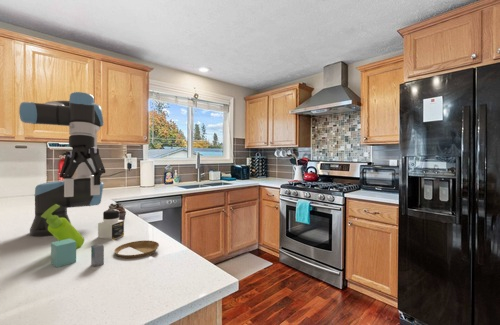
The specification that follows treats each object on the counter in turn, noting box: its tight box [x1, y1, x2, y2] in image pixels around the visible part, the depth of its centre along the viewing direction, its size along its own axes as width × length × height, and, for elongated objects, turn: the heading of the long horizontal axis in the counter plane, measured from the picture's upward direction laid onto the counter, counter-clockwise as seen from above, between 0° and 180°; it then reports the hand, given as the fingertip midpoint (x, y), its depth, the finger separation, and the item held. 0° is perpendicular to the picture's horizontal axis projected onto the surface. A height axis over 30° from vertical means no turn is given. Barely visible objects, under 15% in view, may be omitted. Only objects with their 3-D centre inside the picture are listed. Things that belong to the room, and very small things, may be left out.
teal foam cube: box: [50, 238, 77, 268], centre depth 78 cm, size 5×5×7 cm
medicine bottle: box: [97, 209, 125, 241], centre depth 106 cm, size 7×7×12 cm
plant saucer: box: [114, 240, 160, 259], centre depth 89 cm, size 15×15×3 cm
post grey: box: [90, 243, 105, 268], centre depth 77 cm, size 3×3×7 cm
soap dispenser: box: [41, 204, 85, 249], centre depth 86 cm, size 6×7×20 cm
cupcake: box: [107, 202, 127, 221], centre depth 133 cm, size 10×10×10 cm
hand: (81, 196), depth 85 cm, fingers open, 13 cm apart
